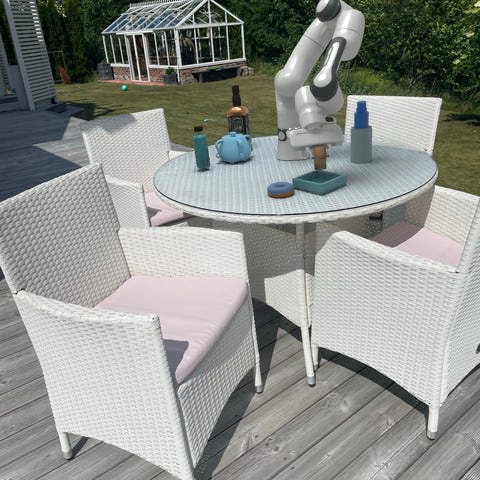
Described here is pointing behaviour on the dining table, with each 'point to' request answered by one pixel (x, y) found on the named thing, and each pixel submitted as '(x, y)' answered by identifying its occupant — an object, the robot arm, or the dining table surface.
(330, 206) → the dining table surface
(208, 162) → the beverage bottle
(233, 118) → the whiskey bottle
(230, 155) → the decorative pot
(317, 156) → the brown wooden cylinder
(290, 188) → the doughnut
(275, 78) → the robot arm
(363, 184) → the dining table surface
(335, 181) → the box
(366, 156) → the spray bottle
